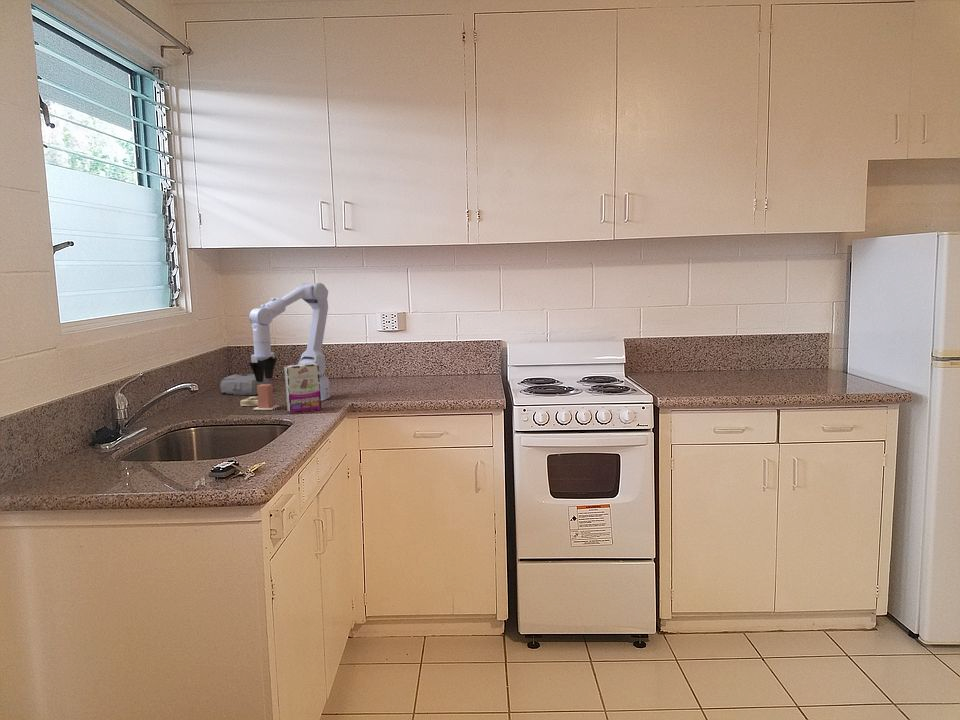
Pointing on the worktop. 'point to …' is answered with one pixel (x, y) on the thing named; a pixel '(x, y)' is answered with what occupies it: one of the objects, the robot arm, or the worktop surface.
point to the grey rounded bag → (241, 384)
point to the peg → (265, 396)
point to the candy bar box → (302, 387)
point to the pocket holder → (249, 401)
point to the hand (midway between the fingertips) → (264, 380)
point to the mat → (266, 408)
